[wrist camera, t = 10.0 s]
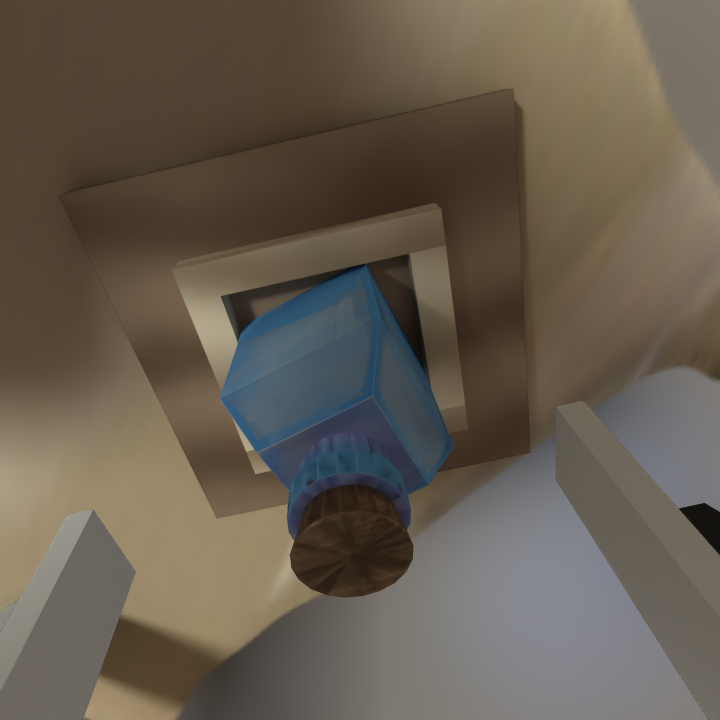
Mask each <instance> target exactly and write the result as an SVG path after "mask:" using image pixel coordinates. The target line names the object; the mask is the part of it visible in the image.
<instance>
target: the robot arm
mask: <svg viewBox="0 0 720 720" xmlns="http://www.w3.org/2000/svg"><path fill="white" fill-rule="evenodd" d="M556 480H557V482H558V484H559V485H560V487H561V488H562V490H563V492H564V493H565V495H566V496H567V498H568V499H569V501H570V503H571V504H572V506H573V507H574V509H575V511H576V512H577V513H578V515H579V517H580V518H581V520H582V522H583V523H584V525H585V526H586V528H587V529H588V531H589V533H590V534H591V536H592V537H593V539H594V541H595V542H596V544H597V545H598V547H599V548H600V550H601V552H602V553H603V555H604V556H605V558H606V560H607V561H608V563H609V564H610V566H611V567H612V569H613V571H614V572H615V574H616V575H617V577H618V579H619V580H620V582H621V583H622V585H623V586H624V588H625V590H626V591H627V592H628V594H629V596H630V597H631V599H632V601H633V602H634V604H635V605H636V607H637V609H638V610H639V612H640V613H641V615H642V616H643V618H644V620H645V621H646V622H647V624H648V626H649V627H650V629H651V630H652V632H653V634H654V635H655V637H656V638H657V640H658V642H659V643H660V645H661V646H662V648H663V650H664V651H665V653H666V654H667V656H668V657H669V659H670V661H671V662H672V664H673V665H674V667H675V669H676V670H677V672H678V673H679V675H680V676H681V678H682V680H683V681H684V683H685V684H686V686H687V687H688V689H689V691H690V692H691V694H692V695H693V697H694V698H695V700H696V702H697V703H698V705H699V706H700V708H701V709H702V711H703V713H704V714H705V716H706V717H707V719H708V720H720V512H719V511H717V510H715V509H714V508H712V507H710V506H709V505H707V504H705V503H703V504H698V505H693V506H688V507H684V508H679V509H678V508H677V506H676V505H675V504H674V503H673V502H672V501H671V500H670V499H669V497H668V496H667V495H666V494H665V493H664V492H663V491H662V489H661V488H660V487H659V486H658V485H657V484H656V483H655V481H654V480H653V479H652V478H651V477H650V476H649V475H648V473H647V472H646V471H645V470H644V469H643V468H642V467H641V466H640V464H639V463H638V462H637V461H636V460H635V459H634V458H633V456H632V455H631V454H630V453H629V452H628V451H627V450H626V448H625V447H624V446H623V445H622V444H621V443H620V442H619V441H618V439H617V438H616V437H615V436H614V435H613V434H612V433H611V432H610V430H609V429H608V428H607V427H606V426H605V425H604V424H603V422H602V421H601V420H600V419H599V418H598V417H597V416H596V414H595V413H594V412H593V411H592V410H591V409H590V408H589V406H588V405H587V404H586V403H585V402H584V401H579V402H575V403H570V404H566V405H561V406H557V407H556ZM135 572H136V571H135V570H134V568H133V567H132V565H131V564H130V562H129V561H128V559H127V558H126V557H125V555H124V554H123V552H122V551H121V549H120V548H119V546H118V545H117V543H116V542H115V540H114V539H113V538H112V536H111V535H110V533H109V532H108V530H107V529H106V527H105V526H104V524H103V523H102V521H101V520H100V519H99V517H98V516H97V514H96V513H95V511H94V510H89V511H84V512H80V513H75V514H71V515H67V516H66V518H65V520H64V521H63V523H62V525H61V527H60V528H59V530H58V532H57V534H56V535H55V537H54V539H53V541H52V543H51V544H50V546H49V548H48V550H47V551H46V553H45V555H44V557H43V558H42V560H41V562H40V564H39V566H38V567H37V569H36V571H35V573H34V574H33V576H32V578H31V580H30V581H29V583H28V585H27V587H26V589H25V590H24V592H23V594H22V596H21V597H20V599H19V601H18V603H17V605H16V606H15V608H14V610H13V612H12V613H11V615H10V617H9V619H8V620H7V622H6V624H5V626H4V628H3V629H2V631H1V633H0V720H83V718H84V716H85V713H86V710H87V707H88V704H89V702H90V699H91V696H92V693H93V690H94V687H95V685H96V682H97V679H98V676H99V673H100V671H101V668H102V665H103V662H104V659H105V657H106V654H107V651H108V648H109V645H110V643H111V640H112V637H113V634H114V631H115V629H116V626H117V623H118V620H119V617H120V615H121V612H122V609H123V606H124V603H125V600H126V598H127V595H128V592H129V589H130V586H131V584H132V581H133V578H134V575H135Z"/></svg>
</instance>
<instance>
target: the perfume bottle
mask: <svg viewBox="0 0 720 720" xmlns="http://www.w3.org/2000/svg"><path fill="white" fill-rule="evenodd" d="M219 399H220V400H221V401H222V403H223V404H224V406H225V407H226V409H227V410H228V412H229V413H230V415H231V416H232V418H233V419H234V421H235V422H236V423H237V425H238V426H239V428H240V429H241V431H242V432H243V434H244V435H245V437H246V438H247V440H248V441H249V443H250V444H251V446H252V447H253V448H254V450H255V451H256V453H257V454H258V455H259V457H260V458H261V459H262V460H263V461H264V462H265V464H266V465H267V466H268V467H269V468H270V470H271V471H272V472H273V473H274V474H275V476H276V477H277V478H278V479H279V480H280V482H281V483H282V484H283V485H284V486H285V488H286V489H287V490H288V491H289V497H288V510H287V522H288V530H289V533H290V535H291V537H292V538H293V540H294V544H293V547H292V550H291V553H290V560H291V568H292V570H293V571H294V573H295V574H296V576H297V578H298V579H299V580H300V581H301V582H302V583H304V584H305V585H306V586H308V587H309V588H310V589H312V590H315V591H317V592H320V593H323V594H325V595H330V596H338V597H356V596H364V595H368V594H371V593H375V592H378V591H381V590H383V589H385V588H386V587H388V586H390V585H392V584H393V583H395V582H396V581H397V580H398V579H399V578H400V577H401V576H402V575H403V574H404V573H405V572H406V571H407V569H408V567H409V565H410V563H411V561H412V559H413V544H412V541H411V539H410V537H409V534H408V532H407V529H408V527H409V525H410V517H411V508H410V503H409V499H408V494H409V493H412V492H414V491H416V490H418V489H421V488H423V487H425V486H427V485H429V483H430V482H431V480H432V479H433V477H434V476H435V474H436V473H437V471H438V470H439V468H440V466H441V465H442V463H443V462H444V460H445V459H446V457H447V456H448V454H449V453H450V451H451V449H452V448H453V443H452V441H451V438H450V436H449V433H448V430H447V428H446V425H445V423H444V420H443V418H442V415H441V413H440V410H439V407H438V405H437V402H436V400H435V397H434V395H433V392H432V390H431V387H430V384H429V382H428V379H427V377H426V374H425V372H424V369H423V367H422V365H421V363H420V361H419V359H418V357H417V356H416V354H415V352H414V350H413V348H412V346H411V345H410V343H409V341H408V339H407V337H406V335H405V334H404V332H403V330H402V328H401V326H400V324H399V323H398V321H397V319H396V317H395V315H394V314H393V312H392V310H391V308H390V306H389V304H388V303H387V301H386V299H385V297H384V295H383V293H382V292H381V290H380V288H379V286H378V284H377V282H376V281H375V279H374V277H373V275H372V273H371V271H370V270H369V268H368V266H367V264H366V263H365V264H361V265H357V266H352V267H349V268H347V269H345V270H343V271H342V272H340V273H338V274H336V275H334V276H332V277H331V278H329V279H327V280H325V281H323V282H321V283H320V284H318V285H316V286H314V287H312V288H310V289H309V290H307V291H305V292H303V293H301V294H299V295H298V296H296V297H294V298H292V299H290V300H288V301H287V302H285V303H283V304H281V305H279V306H277V307H276V308H274V309H272V310H270V311H268V312H266V313H265V314H263V315H261V316H259V317H257V318H255V319H254V320H252V321H250V322H248V323H246V324H244V326H243V329H242V332H241V335H240V338H239V341H238V344H237V347H236V350H235V353H234V356H233V359H232V362H231V365H230V368H229V371H228V374H227V377H226V380H225V383H224V386H223V389H222V392H221V395H220V398H219Z"/></svg>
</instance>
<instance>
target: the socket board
mask: <svg viewBox="0 0 720 720" xmlns="http://www.w3.org/2000/svg"><path fill="white" fill-rule="evenodd" d="M58 196H59V198H60V200H61V202H62V204H63V206H64V208H65V210H66V212H67V214H68V216H69V218H70V220H71V222H72V224H73V226H74V228H75V230H76V232H77V234H78V237H79V239H80V241H81V243H82V245H83V247H84V249H85V251H86V253H87V255H88V257H89V259H90V261H91V263H92V265H93V267H94V269H95V271H96V273H97V275H98V277H99V279H100V281H101V283H102V285H103V288H104V290H105V292H106V294H107V296H108V298H109V300H110V302H111V304H112V306H113V308H114V310H115V312H116V314H117V316H118V318H119V320H120V322H121V324H122V326H123V328H124V330H125V332H126V334H127V336H128V339H129V341H130V343H131V345H132V347H133V349H134V351H135V353H136V355H137V357H138V359H139V361H140V363H141V365H142V367H143V369H144V371H145V373H146V375H147V377H148V379H149V381H150V383H151V385H152V387H153V389H154V392H155V394H156V396H157V398H158V400H159V402H160V404H161V406H162V408H163V410H164V412H165V414H166V416H167V418H168V420H169V422H170V424H171V426H172V428H173V430H174V432H175V434H176V436H177V438H178V440H179V443H180V445H181V447H182V449H183V451H184V453H185V455H186V457H187V459H188V461H189V463H190V465H191V467H192V469H193V471H194V473H195V475H196V477H197V479H198V481H199V483H200V485H201V487H202V489H203V491H204V494H205V496H206V498H207V500H208V502H209V504H210V506H211V508H212V510H213V512H214V514H215V516H216V518H222V517H226V516H231V515H236V514H241V513H245V512H250V511H255V510H260V509H264V508H269V507H274V506H278V505H283V504H288V497H289V491H288V490H287V489H286V488H285V486H284V485H283V484H282V483H281V482H280V480H279V479H278V478H277V477H276V476H275V474H274V473H273V472H272V471H271V470H270V468H269V467H268V466H267V465H266V464H265V462H264V461H263V460H262V459H261V458H260V457H259V455H258V454H257V453H256V451H255V450H254V448H253V447H252V446H251V444H250V443H249V441H248V440H247V438H246V437H245V435H244V434H243V432H242V431H241V429H240V428H239V426H238V425H237V423H236V422H235V421H234V419H233V418H232V416H231V415H230V413H229V412H228V410H227V409H226V407H225V406H224V404H223V403H222V401H221V400H220V399H219V398H220V395H221V392H222V389H223V386H224V383H225V380H226V377H227V374H228V371H229V368H230V365H231V362H232V359H233V356H234V353H235V350H236V347H237V344H238V341H239V338H240V335H241V332H242V329H243V326H244V324H246V323H248V322H250V321H252V320H254V319H255V318H257V317H259V316H261V315H263V314H265V313H266V312H268V311H270V310H272V309H274V308H276V307H277V306H279V305H281V304H283V303H285V302H287V301H288V300H290V299H292V298H294V297H296V296H298V295H299V294H301V293H303V292H305V291H307V290H309V289H310V288H312V287H314V286H316V285H318V284H320V283H321V282H323V281H325V280H327V279H329V278H331V277H332V276H334V275H336V274H338V273H340V272H342V271H343V270H345V269H347V268H349V267H352V266H357V265H361V264H365V263H366V264H367V266H368V268H369V270H370V271H371V273H372V275H373V277H374V279H375V281H376V282H377V284H378V286H379V288H380V290H381V292H382V293H383V295H384V297H385V299H386V301H387V303H388V304H389V306H390V308H391V310H392V312H393V314H394V315H395V317H396V319H397V321H398V323H399V324H400V326H401V328H402V330H403V332H404V334H405V335H406V337H407V339H408V341H409V343H410V345H411V346H412V348H413V350H414V352H415V354H416V356H417V357H418V359H419V361H420V363H421V365H422V367H423V369H424V372H425V374H426V377H427V379H428V382H429V384H430V387H431V390H432V392H433V395H434V397H435V400H436V402H437V405H438V407H439V410H440V413H441V415H442V418H443V420H444V423H445V425H446V428H447V430H448V433H449V436H450V438H451V441H452V443H453V448H452V449H451V451H450V453H449V454H448V456H447V457H446V459H445V460H444V462H443V463H442V465H441V466H440V468H439V470H438V471H437V472H440V471H445V470H449V469H454V468H459V467H464V466H468V465H473V464H478V463H483V462H487V461H492V460H497V459H502V458H506V457H511V456H516V455H521V454H525V453H530V435H529V414H528V392H527V370H526V348H525V326H524V305H523V283H522V261H521V239H520V217H519V196H518V174H517V152H516V130H515V108H514V89H503V90H499V91H495V92H491V93H486V94H482V95H478V96H474V97H469V98H465V99H461V100H456V101H452V102H448V103H444V104H439V105H435V106H431V107H427V108H422V109H418V110H414V111H410V112H405V113H401V114H397V115H392V116H388V117H384V118H380V119H375V120H371V121H367V122H363V123H358V124H354V125H350V126H346V127H341V128H337V129H333V130H328V131H324V132H320V133H316V134H311V135H307V136H303V137H299V138H294V139H290V140H286V141H282V142H277V143H273V144H269V145H264V146H260V147H256V148H252V149H247V150H243V151H239V152H235V153H230V154H226V155H222V156H218V157H213V158H209V159H205V160H201V161H196V162H192V163H188V164H183V165H179V166H175V167H171V168H166V169H162V170H158V171H154V172H149V173H145V174H141V175H137V176H132V177H128V178H124V179H119V180H115V181H111V182H107V183H102V184H98V185H94V186H90V187H85V188H81V189H77V190H73V191H69V192H66V193H63V194H61V195H58Z"/></svg>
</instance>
